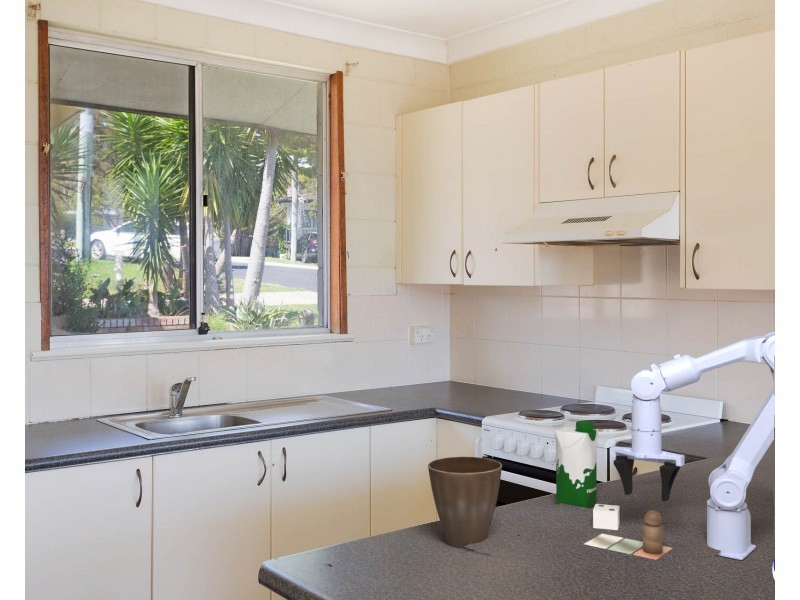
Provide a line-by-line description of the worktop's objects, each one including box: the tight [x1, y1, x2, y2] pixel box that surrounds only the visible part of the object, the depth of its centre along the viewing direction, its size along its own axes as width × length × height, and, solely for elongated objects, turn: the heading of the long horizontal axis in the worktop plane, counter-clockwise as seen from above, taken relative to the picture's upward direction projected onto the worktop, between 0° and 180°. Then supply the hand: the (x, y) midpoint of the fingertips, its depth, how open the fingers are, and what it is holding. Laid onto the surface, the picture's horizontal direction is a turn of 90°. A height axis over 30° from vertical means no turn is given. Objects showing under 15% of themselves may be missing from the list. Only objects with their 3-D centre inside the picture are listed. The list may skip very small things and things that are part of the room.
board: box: [583, 533, 673, 560], centre depth 154 cm, size 10×15×1 cm, turn 51°
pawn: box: [642, 509, 664, 554], centre depth 151 cm, size 4×4×8 cm
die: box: [592, 503, 621, 531], centre depth 167 cm, size 5×5×5 cm
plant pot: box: [427, 456, 503, 549], centre depth 160 cm, size 15×15×16 cm
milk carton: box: [554, 420, 599, 509], centre depth 187 cm, size 9×9×20 cm
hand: (646, 497), depth 159 cm, fingers open, 7 cm apart
